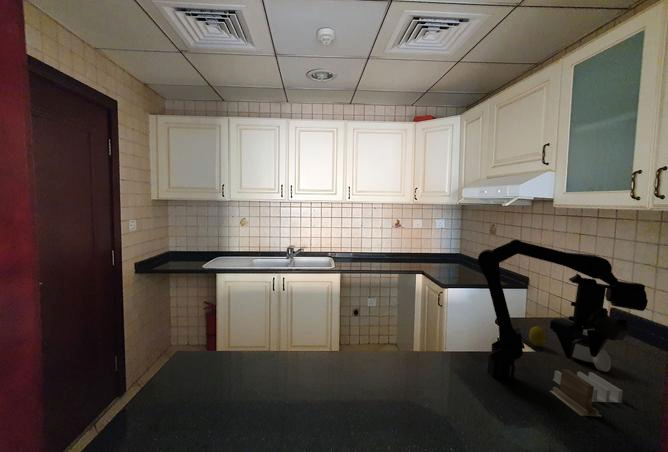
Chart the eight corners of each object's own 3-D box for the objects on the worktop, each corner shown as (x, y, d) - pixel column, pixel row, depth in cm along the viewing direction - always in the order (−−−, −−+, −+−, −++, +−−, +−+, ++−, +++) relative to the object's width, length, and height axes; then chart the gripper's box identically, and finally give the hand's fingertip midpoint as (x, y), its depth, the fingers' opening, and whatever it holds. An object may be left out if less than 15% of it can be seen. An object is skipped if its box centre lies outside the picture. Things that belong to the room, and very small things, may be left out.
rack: (581, 403, 80) (582, 390, 80) (552, 381, 90) (553, 369, 90) (622, 405, 81) (624, 391, 80) (589, 383, 91) (591, 371, 90)
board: (584, 412, 75) (587, 386, 74) (559, 393, 83) (562, 369, 82) (590, 413, 75) (593, 386, 74) (564, 393, 83) (567, 369, 82)
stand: (580, 418, 74) (581, 410, 74) (549, 393, 84) (550, 386, 84) (601, 419, 74) (602, 411, 74) (568, 394, 84) (568, 387, 84)
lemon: (547, 350, 112) (550, 329, 112) (531, 348, 113) (534, 327, 113) (540, 344, 118) (543, 324, 117) (525, 341, 119) (527, 322, 118)
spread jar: (570, 352, 112) (574, 322, 112) (610, 364, 104) (615, 332, 104) (565, 362, 104) (569, 329, 103) (609, 376, 96) (614, 341, 95)
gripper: (597, 313, 69) (588, 376, 70) (651, 312, 74) (641, 371, 75) (551, 297, 80) (544, 353, 81) (601, 298, 85) (593, 350, 86)
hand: (581, 357), depth 81 cm, fingers open, 9 cm apart
